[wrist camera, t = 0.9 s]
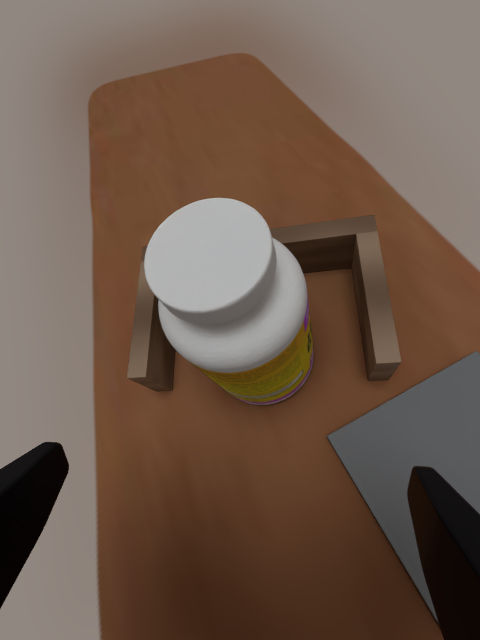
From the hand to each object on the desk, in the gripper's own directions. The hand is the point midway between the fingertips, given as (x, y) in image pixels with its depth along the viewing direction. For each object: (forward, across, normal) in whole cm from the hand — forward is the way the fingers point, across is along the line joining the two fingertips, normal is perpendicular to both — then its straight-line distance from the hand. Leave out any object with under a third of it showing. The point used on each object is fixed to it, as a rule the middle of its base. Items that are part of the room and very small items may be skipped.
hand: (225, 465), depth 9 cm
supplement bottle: (+14, 0, +6) cm, 15 cm away
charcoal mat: (+8, -11, +9) cm, 16 cm away
